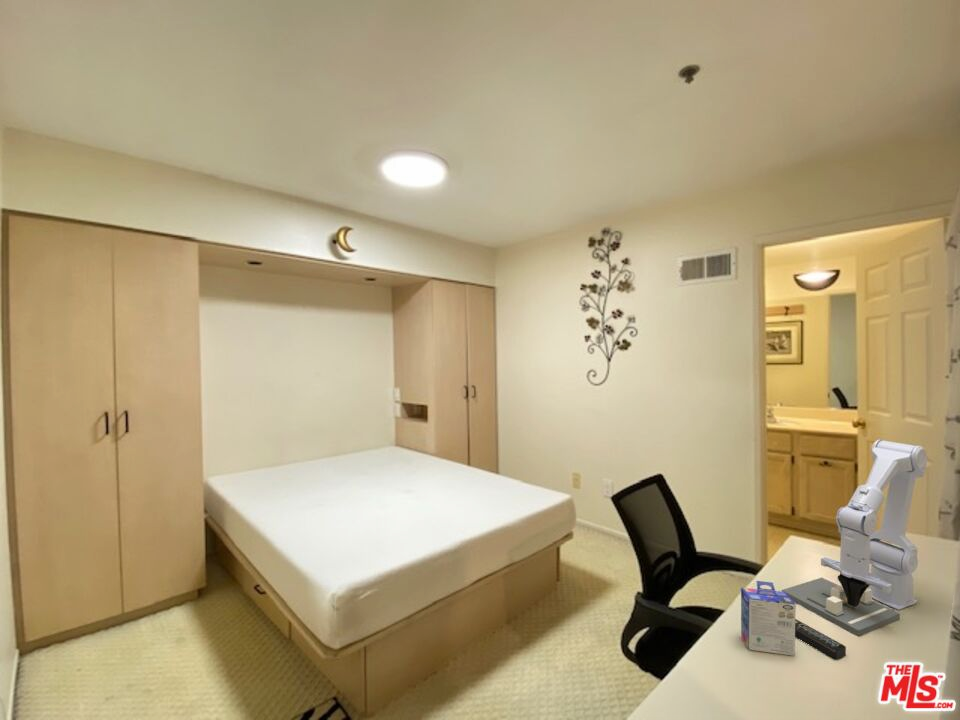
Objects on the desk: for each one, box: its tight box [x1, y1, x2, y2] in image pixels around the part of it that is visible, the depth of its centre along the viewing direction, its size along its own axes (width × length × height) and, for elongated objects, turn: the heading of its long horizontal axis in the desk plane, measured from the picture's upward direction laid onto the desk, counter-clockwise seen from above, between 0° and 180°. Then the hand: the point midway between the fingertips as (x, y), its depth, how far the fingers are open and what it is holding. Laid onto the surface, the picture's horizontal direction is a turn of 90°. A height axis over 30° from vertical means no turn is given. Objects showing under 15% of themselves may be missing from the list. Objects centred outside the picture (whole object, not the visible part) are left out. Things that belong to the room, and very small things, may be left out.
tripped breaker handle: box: [831, 585, 848, 604], centre depth 113 cm, size 3×3×3 cm
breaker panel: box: [781, 577, 901, 637], centre depth 113 cm, size 18×18×2 cm
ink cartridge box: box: [740, 580, 797, 657], centre depth 98 cm, size 10×6×14 cm, turn 78°
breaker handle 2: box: [860, 587, 875, 605], centre depth 113 cm, size 3×3×3 cm
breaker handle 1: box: [824, 596, 844, 616], centre depth 108 cm, size 3×3×3 cm
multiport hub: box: [795, 618, 847, 661], centre depth 99 cm, size 4×11×2 cm, turn 24°
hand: (853, 604), depth 110 cm, fingers closed
